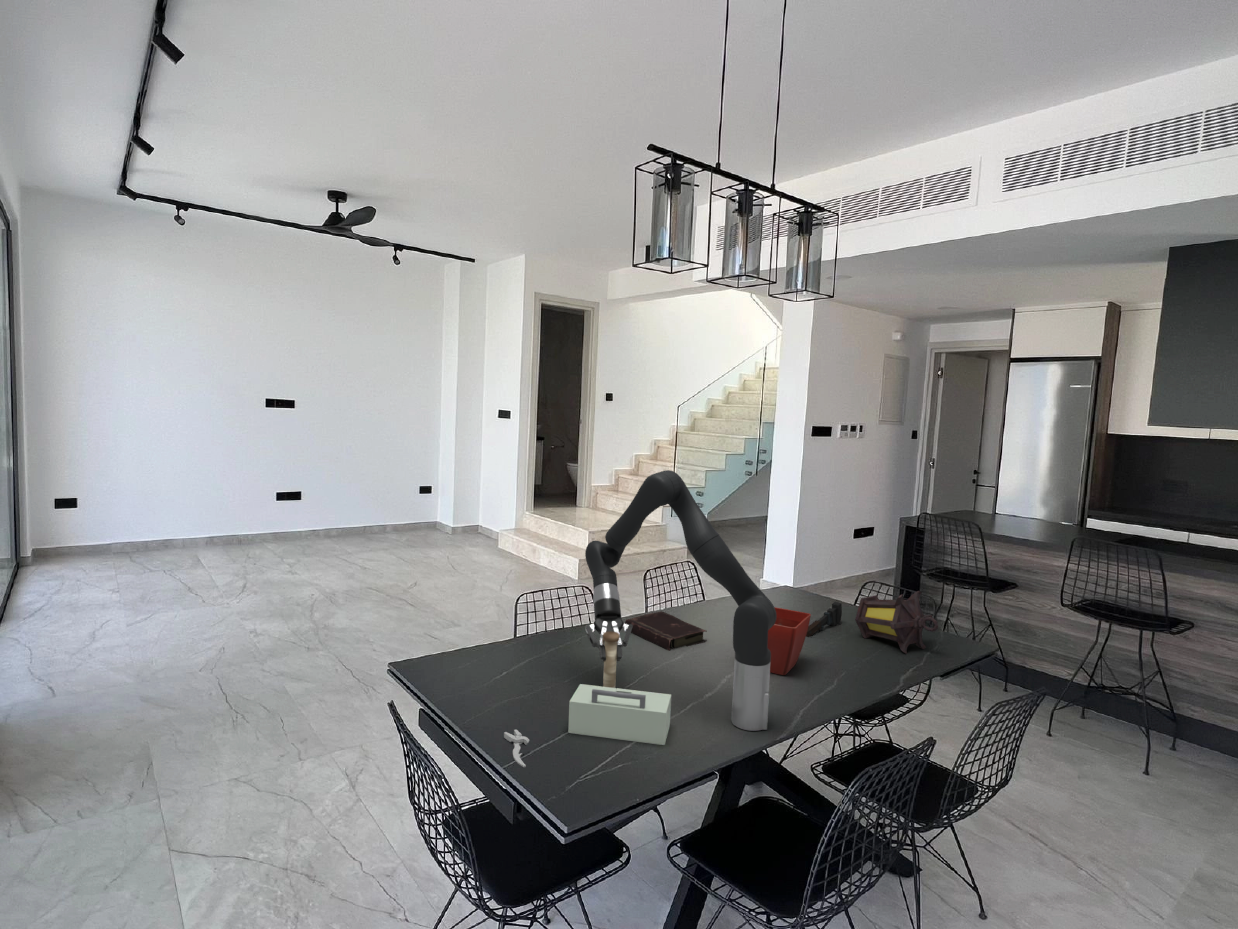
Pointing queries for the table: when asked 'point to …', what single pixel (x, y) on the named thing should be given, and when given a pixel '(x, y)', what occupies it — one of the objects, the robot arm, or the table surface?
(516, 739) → the pliers
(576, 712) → the toolbox
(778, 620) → the plant pot
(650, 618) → the diary
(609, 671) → the beige long cylinder
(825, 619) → the dark stepped piece
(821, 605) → the table surface
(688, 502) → the robot arm
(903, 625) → the lantern
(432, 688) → the table surface
